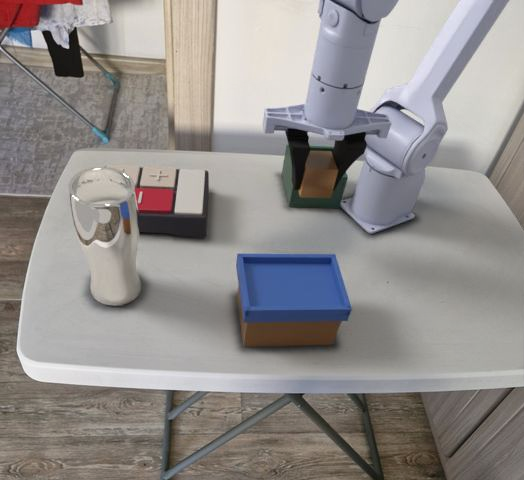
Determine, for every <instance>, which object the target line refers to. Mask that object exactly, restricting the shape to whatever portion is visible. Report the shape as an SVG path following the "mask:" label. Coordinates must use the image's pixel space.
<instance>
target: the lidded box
mask: <svg viewBox="0 0 524 480" xmlns="http://www.w3.org/2000/svg"><path fill="white" fill-rule="evenodd" d="M235 268H236V275H237V284H238V287H237V294H236V299H237V300H236V301H237V308H238V314H239V323H240V330H241V331H240V332H241V338H242V346H243V347H244V348H247V347H249V348H251V347H286V346H287V347H289V346H291V347H292V346H330V345H331V346H332V345H334V342H335V339H336V337H337V334H338V332H339V328H340V326H341V324H342V322H348V321H349V318H350V316H351V313H352V310H353V308H352V305H351V301H350V297H349V295H348V291H347V288H346V284H345V282H344V279H343V275H342V272H341V268H340V265H339V262H338V258H337V255H336V254H335V253H330V254H329V253H237V254H236V261H235Z"/></svg>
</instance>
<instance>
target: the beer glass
mask: <svg viewBox="0 0 524 480" xmlns="http://www.w3.org/2000/svg"><path fill="white" fill-rule="evenodd" d="M68 192H69V202H70V213H71V218H72V223H73V227H74V232H75V235H76V238H77V240H78V243H79V246H80V248H81V250H82V253H83V255H84V257H85V259H86V261H87V263H88V264H87V265H88V266H89V269H90V288H89V289H90V292H91V295H92V297H93V298H94V299H95V300H96V301H97V302H99V303H100V304H103V305H106V306H110V307H118V306H124V305H127V304H130V303H131V302H133V301H135V299H137V298H138V297H139V296H140V294H141V289H142V282H141V280H140V279H141V278H140V277H139V274H138V271H137V255H138V249H139V241H140V233H141V232H140V219H139V209H138V203H137V197H136V192H135V184H134V181H133V179H132V178H131V177H130V176H129V175H128V174H126V173H125V172H123V171H121V170H118V169H114V168H108V167H105V166H98V167H90V168H86V169H84V170H81V171H79V172H78V173H75V174H74V175H73V176H72V178H71V179H70V180H69V183H68Z"/></svg>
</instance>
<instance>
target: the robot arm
mask: <svg viewBox="0 0 524 480" xmlns="http://www.w3.org/2000/svg"><path fill="white" fill-rule="evenodd" d="M398 3H399V0H319V3H318V9H317V13H318V17H319V19H320V24H319V30H318V35H317V41H316V45H315V51H314V56H313V62H312V66H311V72H310V78H309V82H308V87H307V93H306V98H305V103H302V104H296V105H288V106H281V107H264V108H263V109H264V110H263V117H262V128H263V129H262V130H263V132H264V134H274V133H275V132H277V131H278V132H284V133H285V136H286V140H287V145H289V149H290V155H291V162H292V184H293V187H294V190H299V189H300V186H301V183H302V178H303V171H304V167H305V164H306V161H307V158H308V155H309V153H310V150H311V148H310V146H311V145H310V141H309V139H310V136H309V133H312V134H316V135H321V136H324V138H325V139H326V140H328V141H334V145H333V147H334V151H333V157H334V160H335V163H336V165H337V168H338V173H337V177H336V181H335V185H334V188H333V191H334V190H335V189H336V187H337V185H338V183H339V182H340V180H341V178H342V177H343V175H344V174H345V172H346V173H347V171H348V170H349V169H350V167H351V166H352V165H353V164H354V163H355V162H356V161H357V160H359V158H360V157H362V155H363V156H364V160H363V162H362V166H361V169H360V172H359V175H358V179H357V182H356V186H355V189H354V192H353V196H352V197H349V198H345V199H342V200H341V204H340V207H339V208H341V209H342V210H343V211H344V212H345V213H346V214H347V215H349V217H350V218H352V220H354V222H356V223H357V224H358V225H359V226H360V227H361V228H362V229H363V230H364V231H365V232H366V233H368V234H369V235H373V234H376V233H377V232H381V231H384V230H386V229H389V228H392V227H394V226H397V225H399V224H402V223H405V222H409V221H411V220H413V219H415V217H416V215H415V214H414V212H413V209H414V207H415V205H416V202H417V199H418V197H419V195H420V193H421V190H422V188H423V186H424V183H425V180H426V168H427V167H428V166H429V165H430V164H431V163H432V161H433V160H434V158H435V156H436V154H437V152H438V149H439V147H440V145H441V142H442V140H443V139H444V137H445V136H446V134H447V132H448V130H449V127H448V121H447V118H446V113H445V110H444V106H443V102H444V101H445V99H446V97H447V96H448V94H449V93H450V91H451V90H452V89H453V86H455V84H456V82H457V81H458V80H459V78H460V76H461V75H462V73H463V72H464V70H465V69H466V67H467V66H468V64H469V63H470V61H471V60H472V58H473V57H474V55H475V54H476V52H477V51H478V49H479V47H480V46H481V44H482V43H483V41H484V40H485V39H486V37H487V35H488V34H489V32H490V31H491V29H492V28H493V26H494V25H495V23H496V22H497V20H498V19H499V17H500V15H501V14H502V12H503V11H504V10H505V8H506V6H507V5H508V3H510V0H458V2H457V4H456V5H455V7H454V9H453V10H452V11H451V14H450V15H449V16H448V19H447V20H446V21H445V23H444V25H443V26H442V28H441V30H440V31H439V33H438V35H437V36H436V38H435V40H434V41H433V42H432V45H431V46H430V47H429V49H428V51H426V54H425V55H424V57H423V59H422V60H421V62H420V63H419V66H418V67H417V69H416V70H415V72H414V73H413V75H412V77H411V78H410V80H409V82H408V83H404V84H401V85H397V86H393V87H390V88H388V89H385V91H384V92H383V94H382V96H381V97H380V98H379V100H378V101H377V102H376V103H375V105H373V106H372V107H371V108H370V109H369V110H365V109H359V108H358V107H359V103H360V99H361V95H362V92H363V89H364V84H365V80H366V77H367V73H368V69H369V66H370V62H371V58H372V55H373V52H374V48H375V43H376V40H377V37H378V36H377V35H378V33H379V28H380V24H381V21H382V19H385V18H387V17H388V16H389V15H390V14H391V13H392V11H394V9H395V7H396V6H397V4H398ZM403 110H406V111H408V112H410V113H412V114H413V115H414V116H416V117H418V118H419V119H421V120H422V122H423V124H422V123H421V122H419V121H417V120H416V119H415V118H412V116H409V115H408V114H406V113H405V112H403Z"/></svg>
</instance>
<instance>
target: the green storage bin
mask: <svg viewBox="0 0 524 480" xmlns="http://www.w3.org/2000/svg"><path fill="white" fill-rule="evenodd" d="M310 148H311V150H310V151H331V152H332V154H333V151H334V146H322V145H310ZM284 152H285V153H284V158H283V163H282V170H281V176H280V177H281V181H282V185H283V188H284V193H285V196H286V201H287V205H288V207H289V208H318V209H321V208H322V209H340V208H341V207H340V204H341V201H342V200H343V196H344V193H345V189H346V186H347V182H348V179H349V176H348V174H347V171H346V172H345V174H344V175H343V177H342V178H341V180H340V182H339V183H338V185H337V187H336V189H335V190H334V191H333V192H332V196H331V198H304V197H300V195H299V192H298V190H294V187H293V184H292V162H291V155H290V149H289V144H286V146H285V151H284Z"/></svg>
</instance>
